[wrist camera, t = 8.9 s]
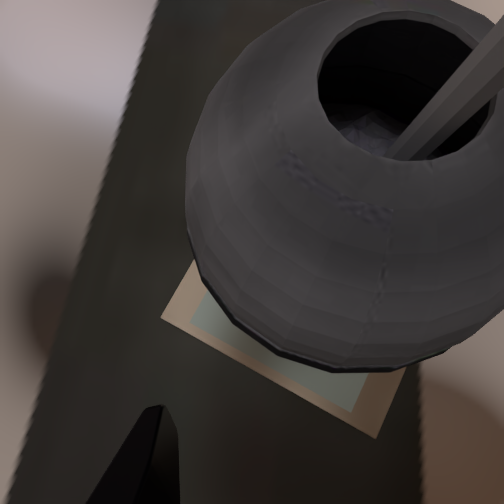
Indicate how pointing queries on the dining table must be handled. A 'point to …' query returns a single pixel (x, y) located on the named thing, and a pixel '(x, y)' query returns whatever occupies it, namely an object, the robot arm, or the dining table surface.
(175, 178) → the dining table surface
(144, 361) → the dining table surface
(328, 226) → the beverage cup
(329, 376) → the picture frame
